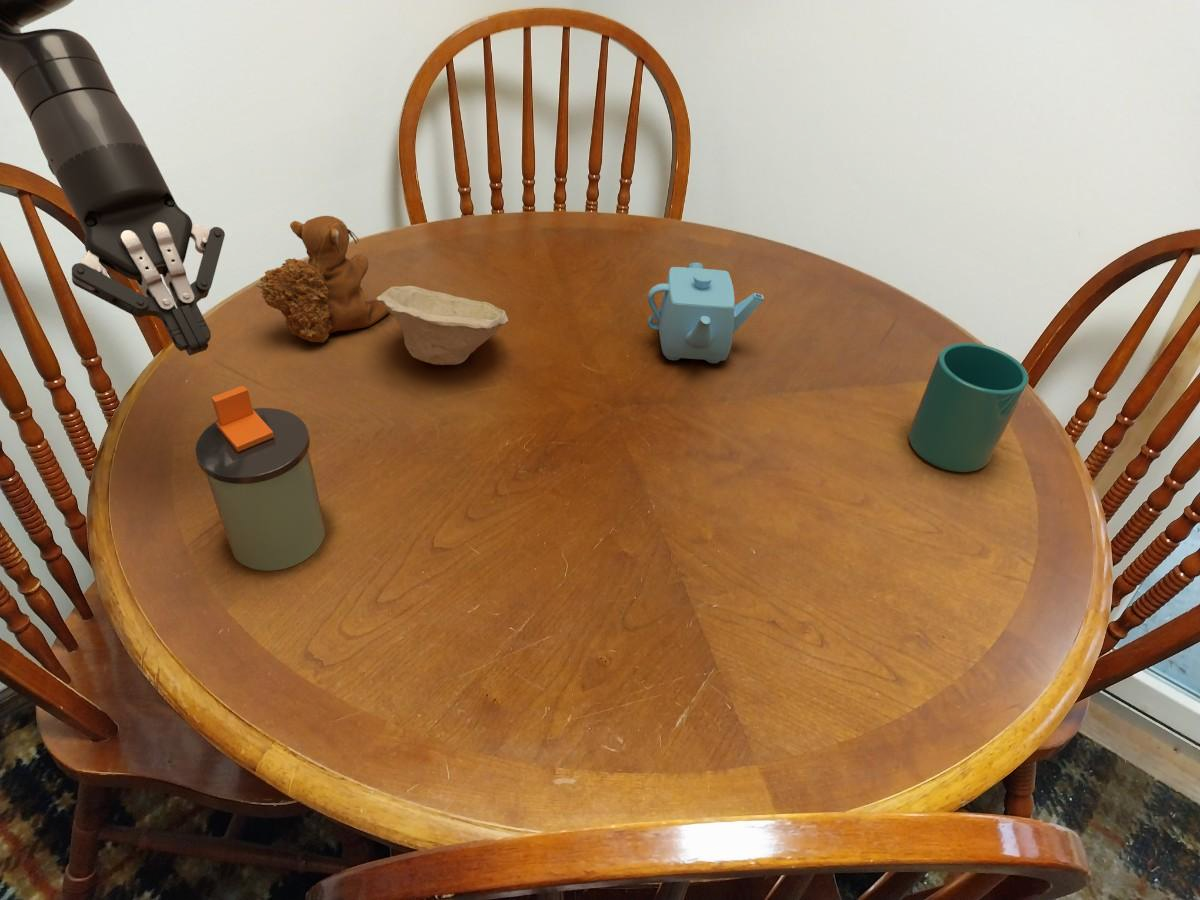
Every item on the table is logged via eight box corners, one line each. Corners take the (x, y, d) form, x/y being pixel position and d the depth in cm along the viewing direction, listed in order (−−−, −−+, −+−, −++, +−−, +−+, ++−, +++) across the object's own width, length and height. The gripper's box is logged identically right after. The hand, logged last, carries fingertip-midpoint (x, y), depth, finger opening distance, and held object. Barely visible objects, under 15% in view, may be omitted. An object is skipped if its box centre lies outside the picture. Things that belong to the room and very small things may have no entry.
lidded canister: (210, 530, 79) (176, 433, 71) (300, 489, 84) (278, 394, 76) (253, 589, 74) (222, 492, 66) (346, 542, 79) (327, 446, 71)
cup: (973, 411, 101) (1009, 332, 93) (998, 479, 92) (1040, 397, 84) (896, 403, 101) (926, 323, 94) (914, 469, 92) (948, 387, 85)
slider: (217, 427, 72) (208, 398, 70) (253, 413, 74) (245, 384, 72) (237, 452, 70) (229, 422, 68) (274, 437, 72) (267, 407, 69)
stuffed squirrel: (396, 310, 109) (386, 214, 101) (322, 364, 99) (303, 264, 91) (335, 288, 112) (319, 194, 104) (257, 338, 102) (233, 239, 94)
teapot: (642, 305, 114) (649, 236, 107) (745, 313, 114) (759, 245, 108) (642, 385, 100) (651, 312, 94) (760, 394, 101) (777, 321, 94)
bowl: (529, 344, 105) (530, 272, 99) (470, 405, 96) (466, 330, 89) (427, 311, 110) (421, 240, 103) (360, 365, 100) (349, 291, 93)
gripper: (11, 159, 64) (120, 367, 66) (186, 124, 71) (281, 313, 73) (17, 199, 71) (116, 388, 72) (177, 164, 78) (265, 337, 79)
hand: (199, 350), depth 72 cm, fingers closed
